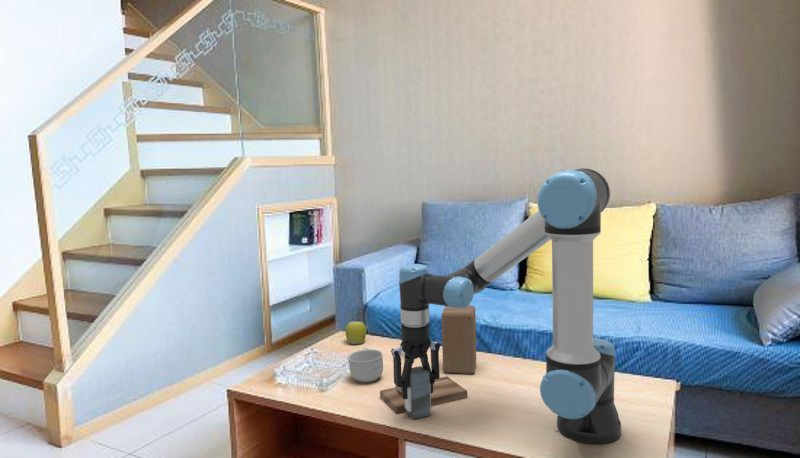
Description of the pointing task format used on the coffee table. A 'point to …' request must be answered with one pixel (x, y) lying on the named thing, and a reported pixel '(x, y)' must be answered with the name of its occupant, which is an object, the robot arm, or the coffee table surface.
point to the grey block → (419, 392)
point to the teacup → (366, 365)
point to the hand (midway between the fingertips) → (417, 407)
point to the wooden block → (459, 339)
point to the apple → (356, 332)
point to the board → (441, 394)
